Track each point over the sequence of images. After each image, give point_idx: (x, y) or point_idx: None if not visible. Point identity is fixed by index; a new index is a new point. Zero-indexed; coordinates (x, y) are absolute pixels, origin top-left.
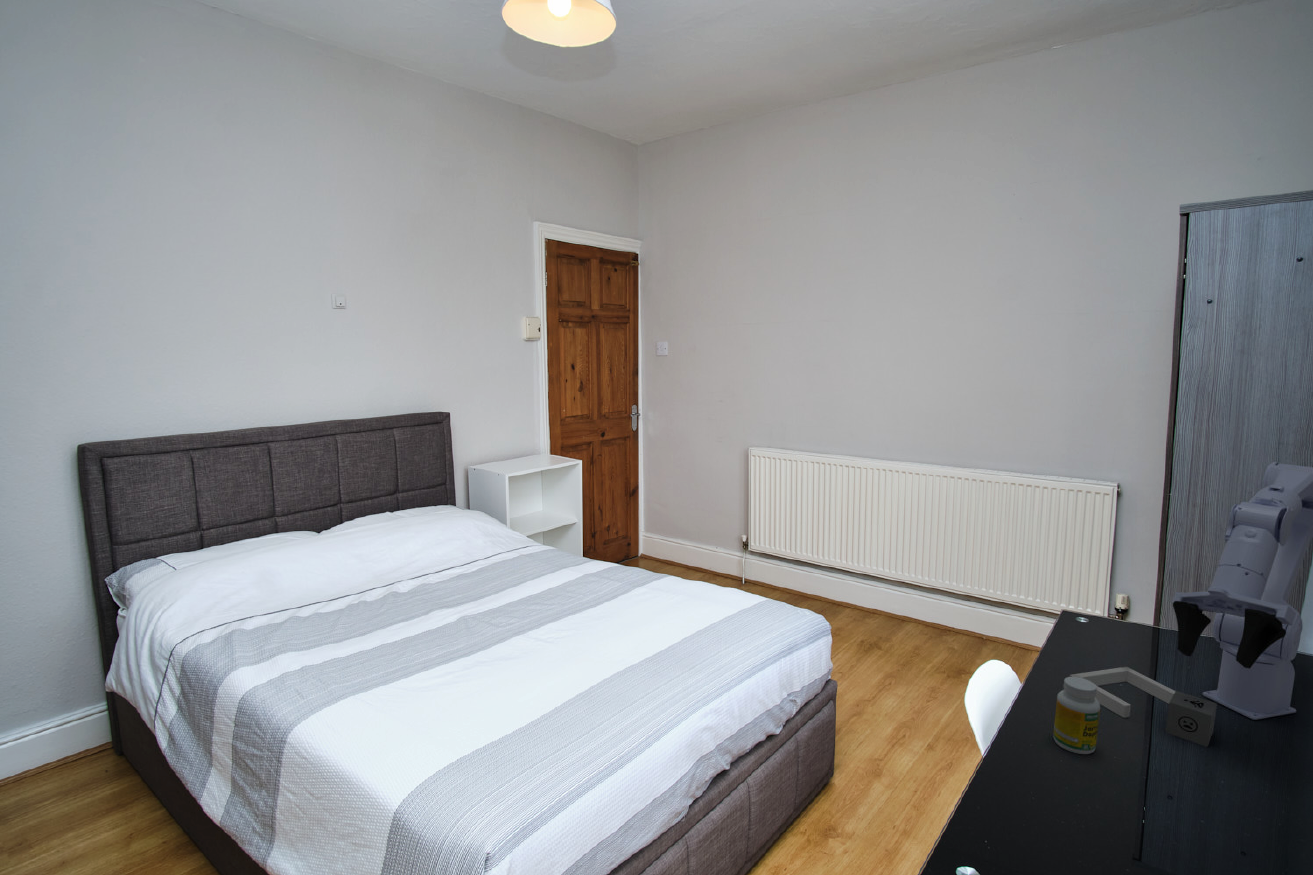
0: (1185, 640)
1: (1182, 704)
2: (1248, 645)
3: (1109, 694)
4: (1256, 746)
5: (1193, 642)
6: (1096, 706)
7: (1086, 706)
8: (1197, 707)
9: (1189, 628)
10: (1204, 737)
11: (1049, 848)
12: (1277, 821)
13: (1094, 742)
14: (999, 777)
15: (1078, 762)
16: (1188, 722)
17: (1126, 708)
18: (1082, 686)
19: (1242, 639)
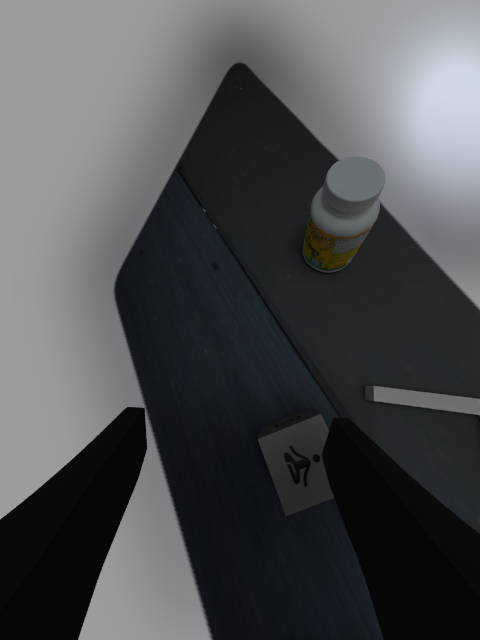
0: (353, 457)
1: (306, 430)
2: (71, 461)
3: (418, 401)
4: (233, 514)
5: (350, 512)
6: (314, 208)
7: (318, 191)
8: (288, 448)
9: (399, 540)
10: (265, 428)
11: (215, 121)
12: (144, 332)
13: (304, 247)
14: (301, 139)
15: (295, 227)
16: (287, 422)
17: (371, 389)
18: (343, 172)
19: (86, 480)
